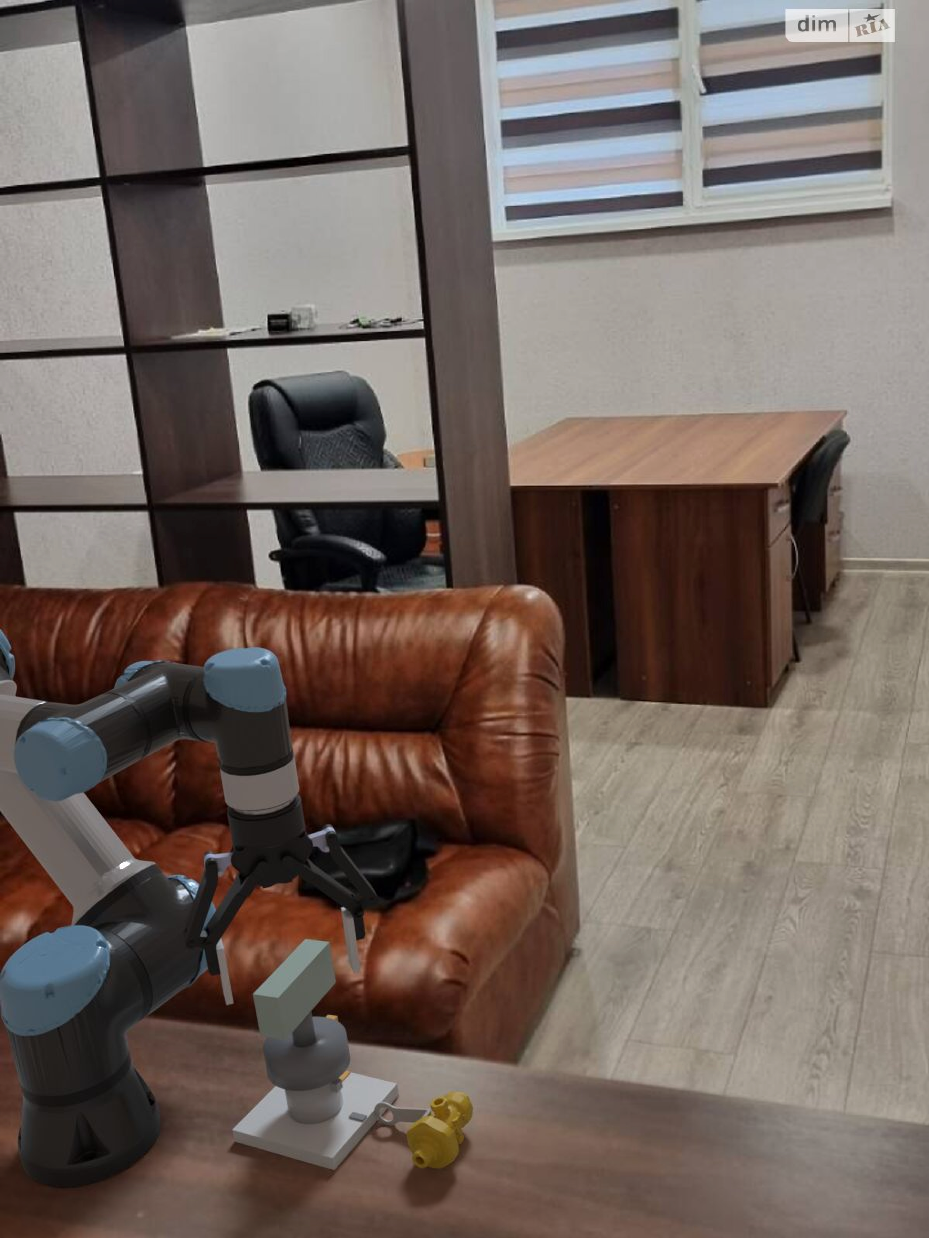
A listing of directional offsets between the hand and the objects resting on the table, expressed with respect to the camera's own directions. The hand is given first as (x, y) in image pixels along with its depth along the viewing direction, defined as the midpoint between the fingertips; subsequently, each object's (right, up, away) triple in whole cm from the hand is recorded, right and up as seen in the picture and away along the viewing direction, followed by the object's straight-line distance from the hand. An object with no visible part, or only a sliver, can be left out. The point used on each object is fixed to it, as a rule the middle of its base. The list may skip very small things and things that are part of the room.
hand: (292, 982), depth 144 cm
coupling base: (+2, -16, +5) cm, 17 cm away
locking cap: (+2, -10, +3) cm, 10 cm away
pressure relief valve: (+13, -17, -1) cm, 22 cm away
